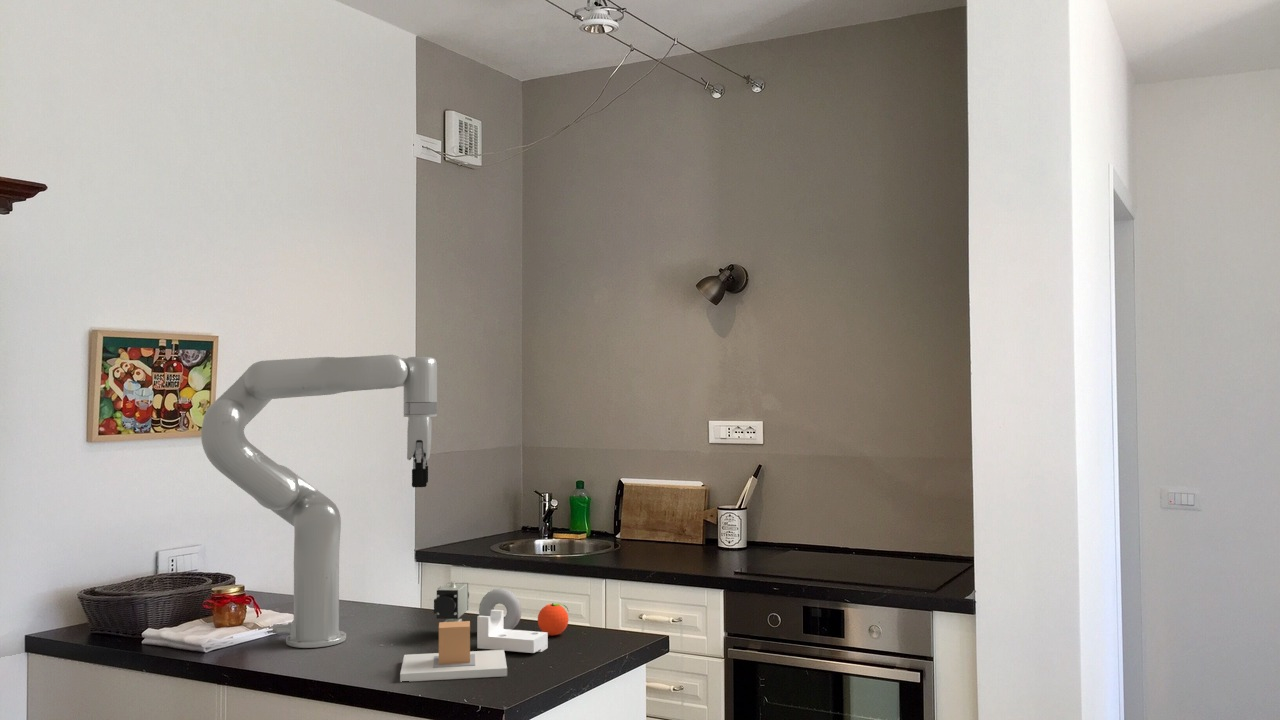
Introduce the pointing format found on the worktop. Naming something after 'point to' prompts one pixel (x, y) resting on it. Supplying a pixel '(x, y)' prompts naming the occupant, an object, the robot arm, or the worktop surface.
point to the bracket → (507, 635)
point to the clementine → (553, 619)
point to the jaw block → (454, 642)
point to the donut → (507, 600)
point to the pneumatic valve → (451, 601)
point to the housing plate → (453, 666)
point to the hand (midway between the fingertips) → (420, 485)
